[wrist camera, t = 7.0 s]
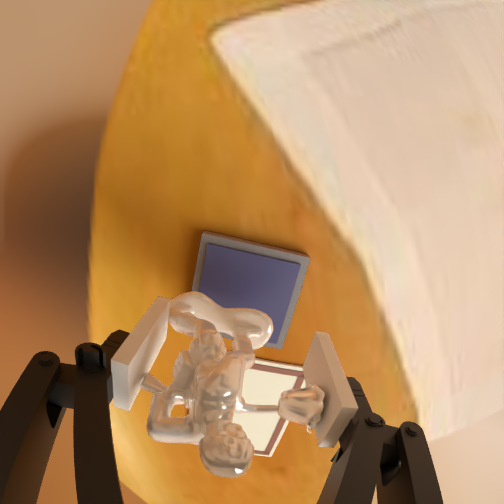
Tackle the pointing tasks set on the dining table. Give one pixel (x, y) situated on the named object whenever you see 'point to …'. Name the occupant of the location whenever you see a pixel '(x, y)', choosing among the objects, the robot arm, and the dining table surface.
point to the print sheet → (267, 402)
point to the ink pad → (251, 278)
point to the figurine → (219, 385)
